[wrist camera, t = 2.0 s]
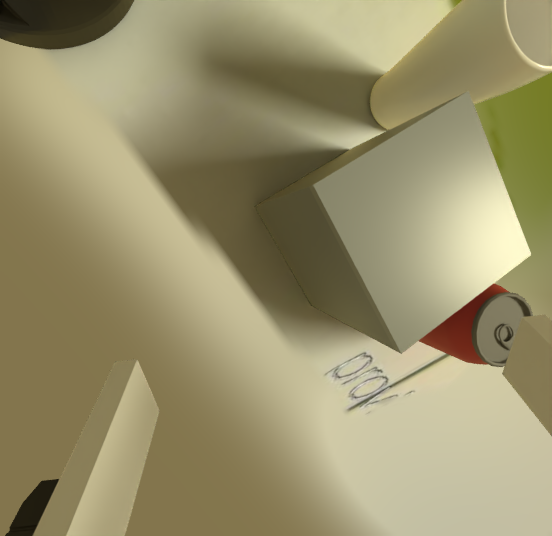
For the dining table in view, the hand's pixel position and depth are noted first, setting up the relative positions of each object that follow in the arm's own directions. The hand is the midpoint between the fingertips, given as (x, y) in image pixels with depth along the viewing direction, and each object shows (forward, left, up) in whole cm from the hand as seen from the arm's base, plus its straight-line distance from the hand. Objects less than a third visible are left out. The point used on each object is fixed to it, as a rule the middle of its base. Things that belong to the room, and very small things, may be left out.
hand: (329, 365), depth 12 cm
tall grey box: (0, +11, -20) cm, 23 cm away
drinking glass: (-7, +22, -20) cm, 31 cm away
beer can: (+11, +14, -20) cm, 27 cm away
